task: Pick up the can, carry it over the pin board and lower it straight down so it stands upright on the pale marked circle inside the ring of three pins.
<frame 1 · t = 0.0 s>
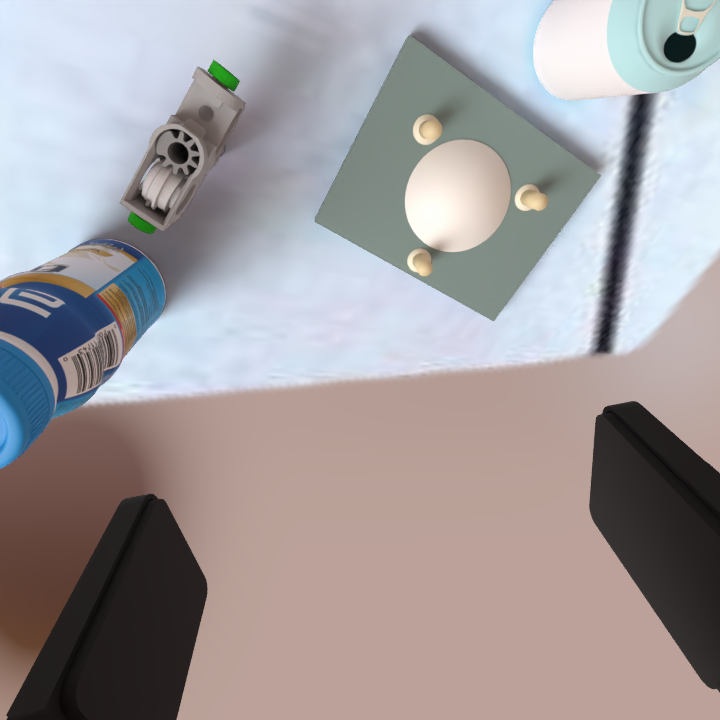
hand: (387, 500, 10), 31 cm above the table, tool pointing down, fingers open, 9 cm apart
beverage bottle: (118, 284, 39), on the table
can: (576, 45, 33), on the table
pin board: (452, 195, 37), on the table
mechanical component: (214, 146, 34), on the table
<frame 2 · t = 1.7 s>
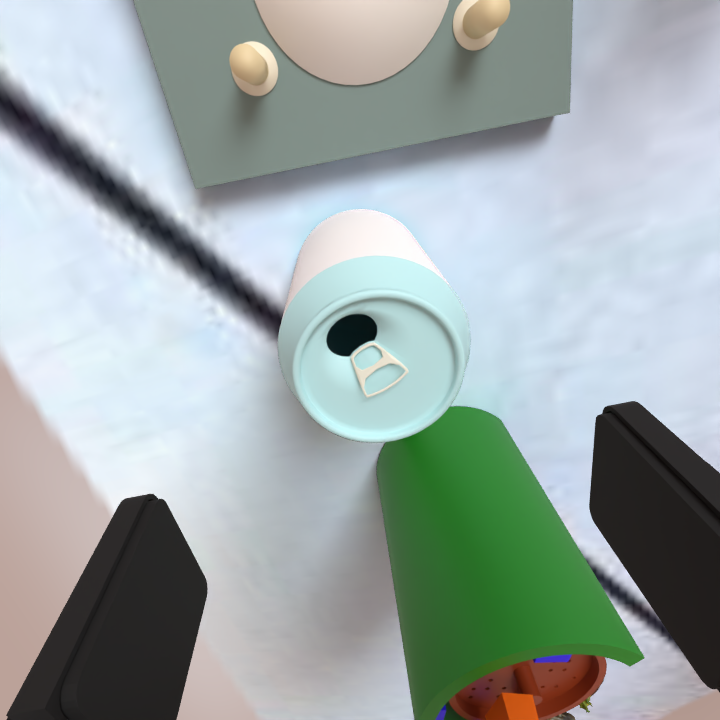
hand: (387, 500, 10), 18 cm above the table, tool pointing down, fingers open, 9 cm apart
can: (359, 270, 26), on the table
motor: (438, 463, 33), on the table
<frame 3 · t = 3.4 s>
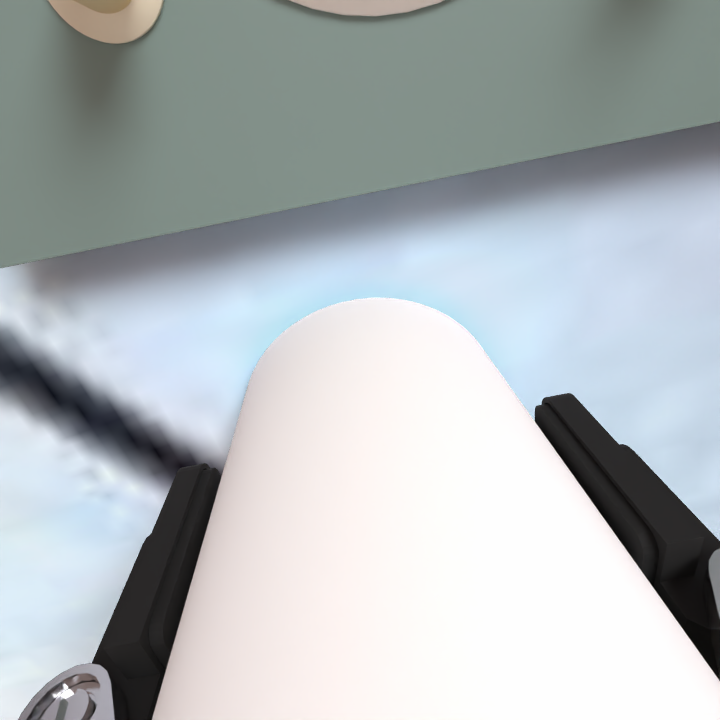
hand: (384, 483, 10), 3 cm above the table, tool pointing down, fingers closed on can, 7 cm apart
can: (370, 400, 14), on the table, touching gripper
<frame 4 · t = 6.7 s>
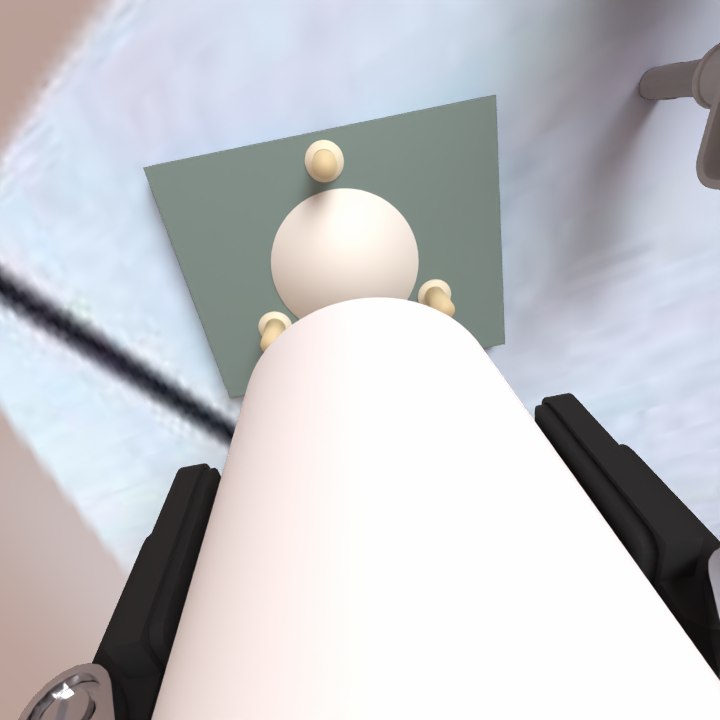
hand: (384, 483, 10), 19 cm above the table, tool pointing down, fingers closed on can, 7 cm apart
can: (369, 400, 14), point 16 cm above the table, touching gripper
pin board: (344, 259, 27), on the table
mechanical component: (651, 83, 24), on the table
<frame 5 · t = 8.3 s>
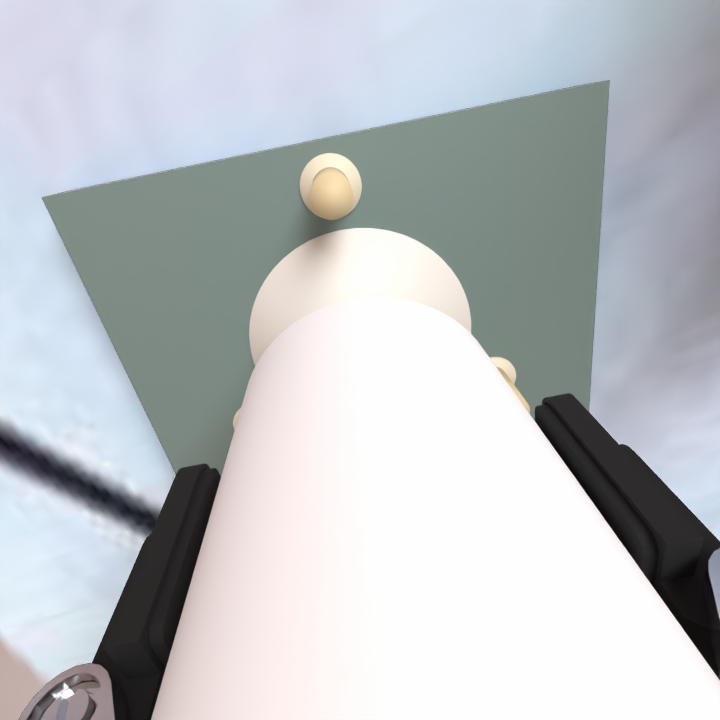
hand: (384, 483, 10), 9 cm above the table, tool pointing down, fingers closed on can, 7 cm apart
can: (369, 400, 14), point 6 cm above the table, touching gripper
pin board: (359, 324, 19), on the table
when the fingers open (6 cm above the table, at t = 10.0 s): can stays where it is, resting on pin board.
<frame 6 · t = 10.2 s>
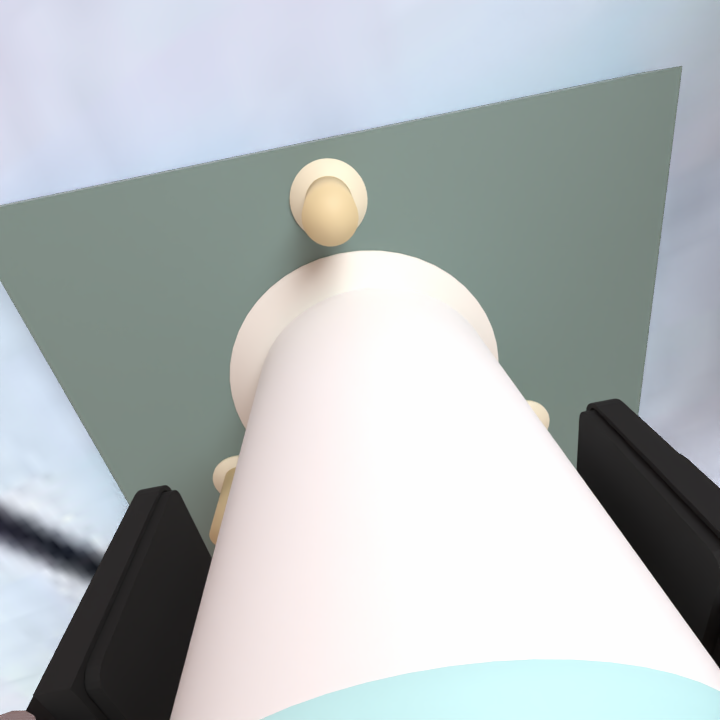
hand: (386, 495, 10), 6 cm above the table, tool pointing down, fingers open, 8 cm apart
can: (374, 384, 15), point 1 cm above the table, touching pin board
pin board: (362, 361, 16), on the table
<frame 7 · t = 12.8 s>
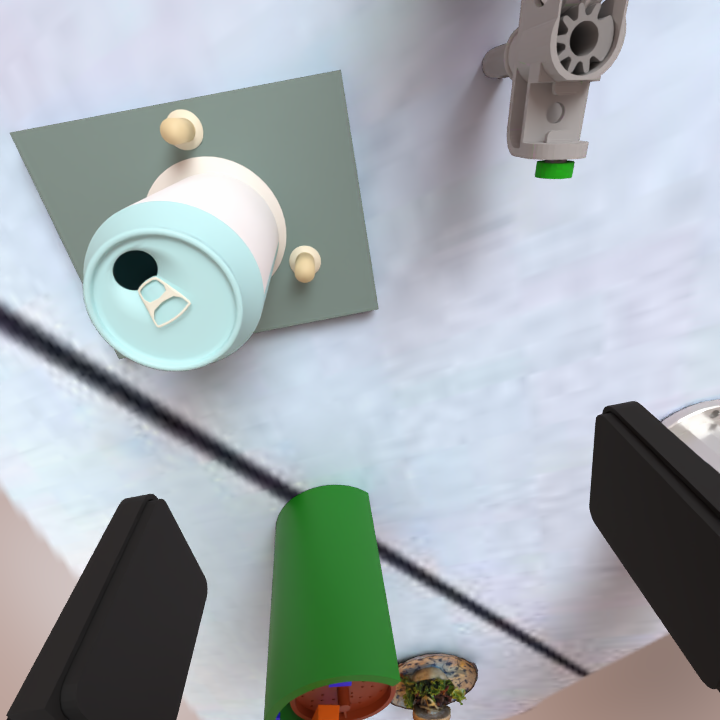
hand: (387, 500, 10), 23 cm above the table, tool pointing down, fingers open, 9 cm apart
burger: (425, 667, 56), on the table
can: (221, 233, 28), point 1 cm above the table, touching pin board
pin board: (220, 226, 29), on the table
mechanical component: (494, 63, 26), on the table
motor: (324, 523, 43), on the table
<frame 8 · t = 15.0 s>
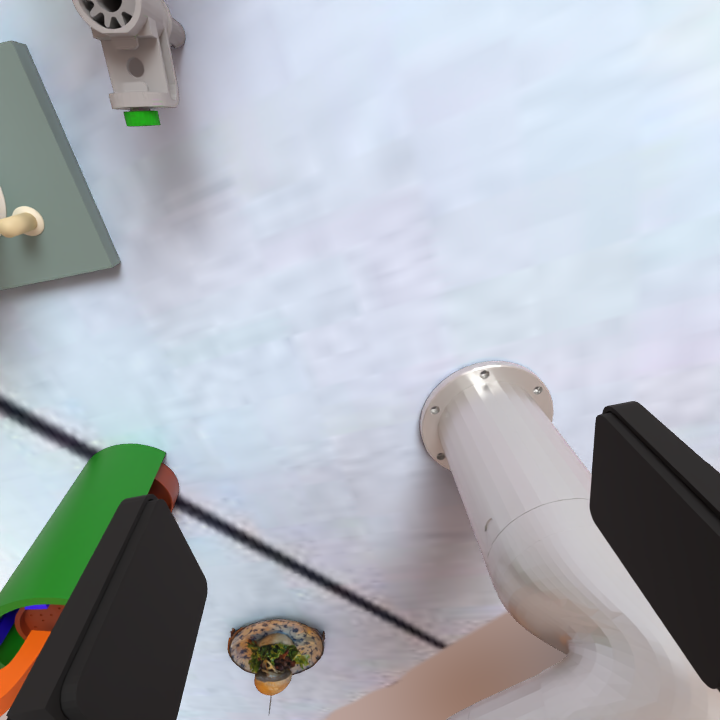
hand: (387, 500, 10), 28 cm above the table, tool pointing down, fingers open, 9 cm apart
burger: (277, 634, 58), on the table
mechanical component: (173, 34, 29), on the table
motor: (133, 483, 45), on the table
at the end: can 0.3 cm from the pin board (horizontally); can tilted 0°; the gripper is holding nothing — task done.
